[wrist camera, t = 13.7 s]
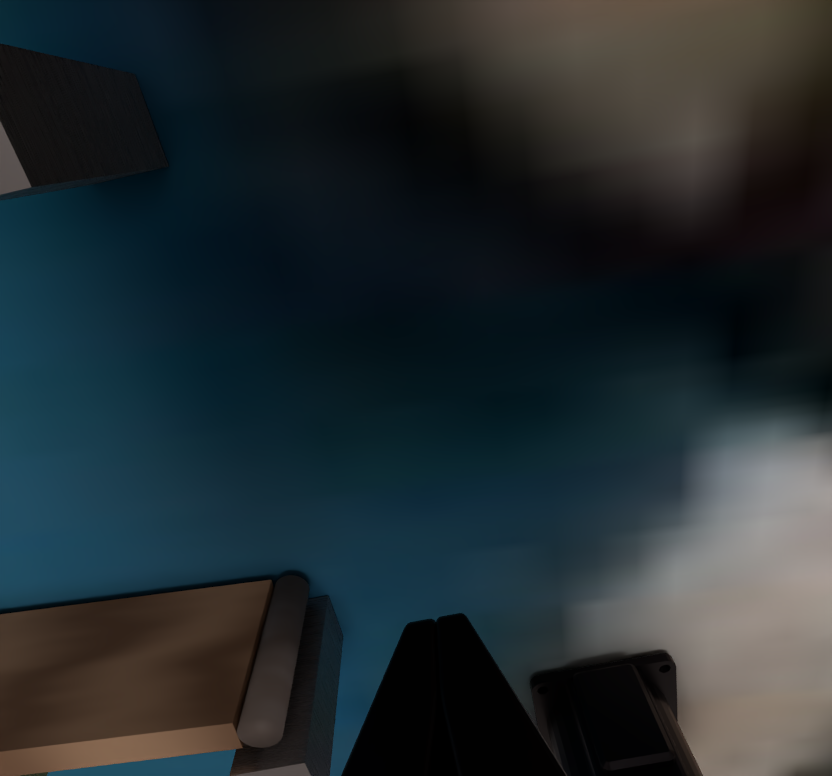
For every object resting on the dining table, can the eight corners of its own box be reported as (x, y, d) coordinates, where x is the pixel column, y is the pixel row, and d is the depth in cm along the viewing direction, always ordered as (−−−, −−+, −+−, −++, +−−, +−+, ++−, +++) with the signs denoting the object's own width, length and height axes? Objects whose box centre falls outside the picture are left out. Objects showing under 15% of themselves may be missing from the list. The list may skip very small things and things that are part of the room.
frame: (343, 636, 24) (326, 808, 18) (51, 690, 25) (-61, 873, 19) (134, 74, 15) (-42, 34, 9) (-312, 183, 16) (-756, 216, 10)
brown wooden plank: (305, 573, 22) (277, 715, 17) (317, 615, 23) (294, 762, 18) (-82, 623, 23) (-233, 778, 17) (-55, 662, 24) (-190, 821, 18)
